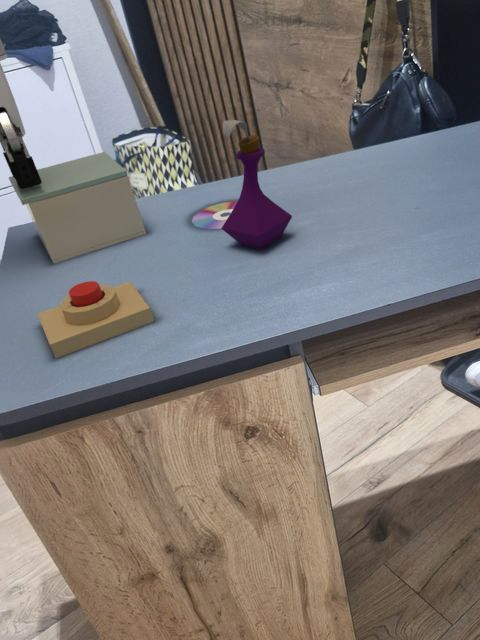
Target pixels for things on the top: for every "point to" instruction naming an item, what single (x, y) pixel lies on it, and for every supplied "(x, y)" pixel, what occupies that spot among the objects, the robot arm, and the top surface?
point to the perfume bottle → (253, 199)
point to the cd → (213, 216)
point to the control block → (94, 319)
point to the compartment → (87, 219)
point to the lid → (70, 177)
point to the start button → (86, 294)
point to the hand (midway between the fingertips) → (27, 179)
